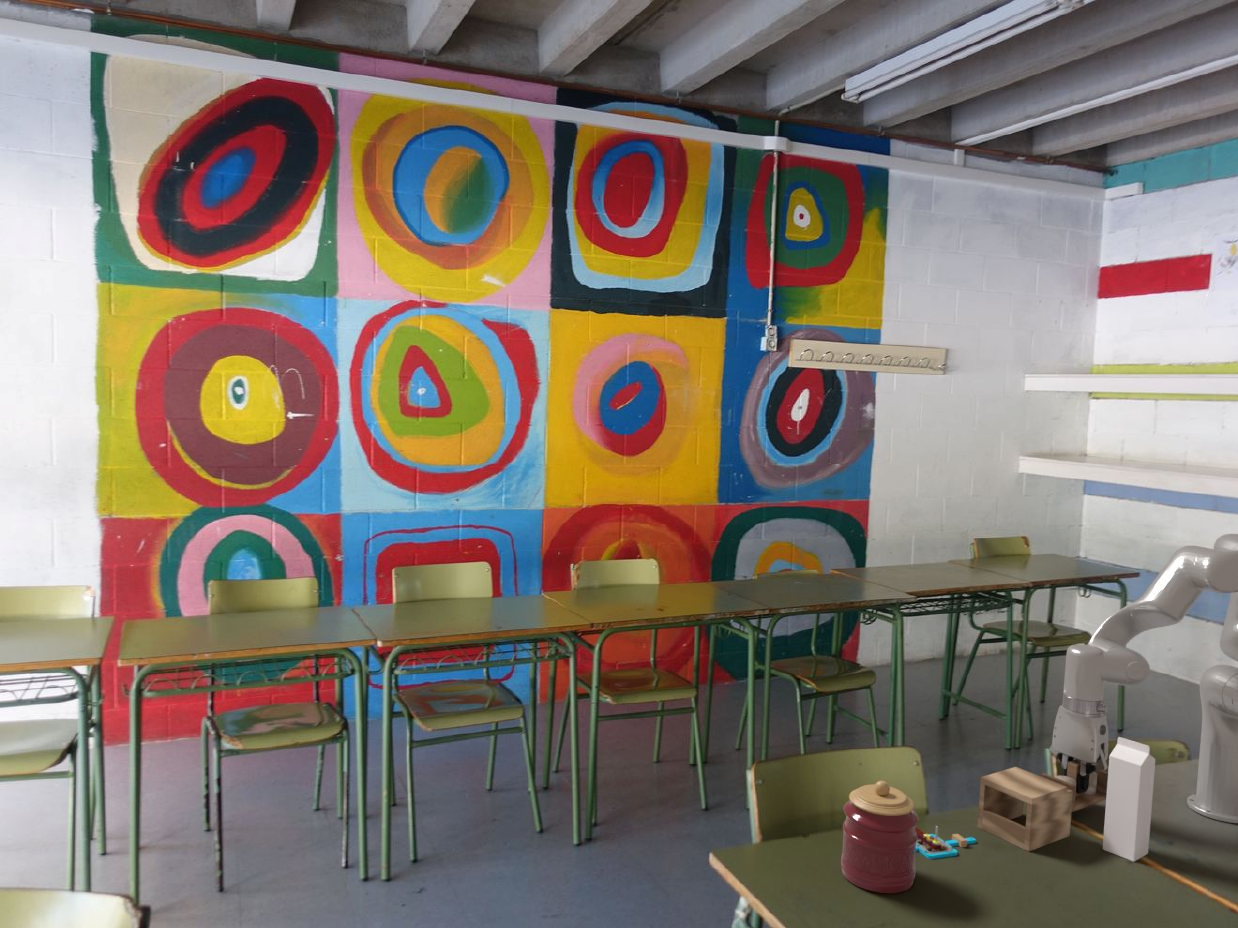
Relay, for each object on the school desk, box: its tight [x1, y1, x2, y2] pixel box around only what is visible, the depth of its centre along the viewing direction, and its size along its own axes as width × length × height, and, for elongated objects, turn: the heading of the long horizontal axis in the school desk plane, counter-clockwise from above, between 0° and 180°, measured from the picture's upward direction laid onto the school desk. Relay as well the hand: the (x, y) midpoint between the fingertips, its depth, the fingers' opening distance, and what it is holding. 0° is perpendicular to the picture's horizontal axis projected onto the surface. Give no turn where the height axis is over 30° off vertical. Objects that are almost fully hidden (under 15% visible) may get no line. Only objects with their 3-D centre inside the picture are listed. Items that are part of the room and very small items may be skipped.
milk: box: [1102, 736, 1156, 863], centre depth 181 cm, size 6×6×22 cm
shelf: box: [977, 766, 1073, 852], centre depth 189 cm, size 14×12×10 cm
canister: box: [840, 780, 919, 894], centre depth 168 cm, size 13×13×18 cm
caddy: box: [1040, 758, 1108, 813], centre depth 198 cm, size 14×7×8 cm, turn 122°
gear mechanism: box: [915, 825, 977, 860], centre depth 181 cm, size 20×5×9 cm
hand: (1075, 788), depth 198 cm, fingers closed on caddy
